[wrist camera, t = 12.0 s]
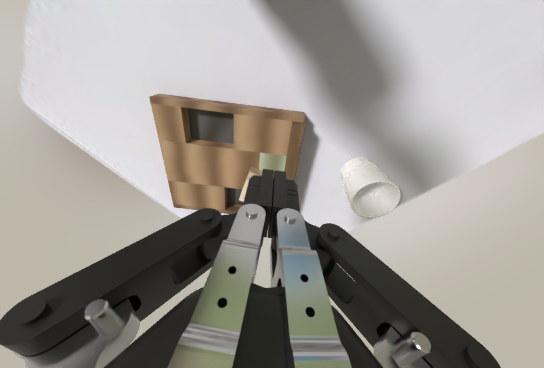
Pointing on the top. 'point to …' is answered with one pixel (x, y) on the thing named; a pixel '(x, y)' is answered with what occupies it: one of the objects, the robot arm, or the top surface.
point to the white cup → (369, 188)
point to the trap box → (222, 147)
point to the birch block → (251, 172)
